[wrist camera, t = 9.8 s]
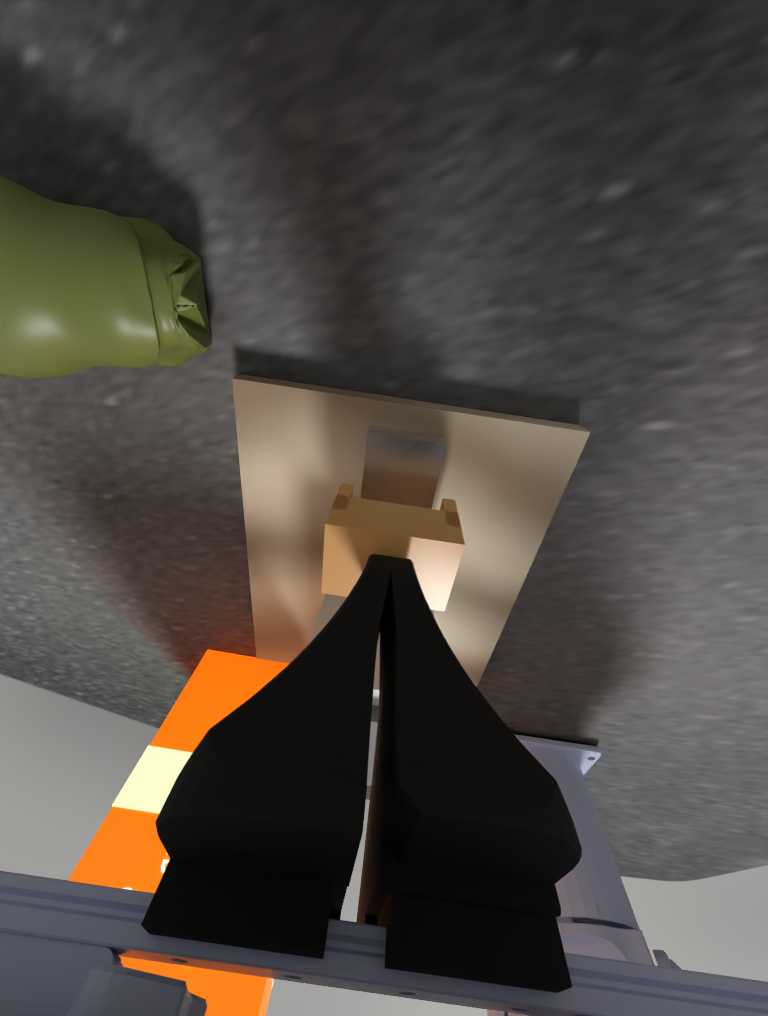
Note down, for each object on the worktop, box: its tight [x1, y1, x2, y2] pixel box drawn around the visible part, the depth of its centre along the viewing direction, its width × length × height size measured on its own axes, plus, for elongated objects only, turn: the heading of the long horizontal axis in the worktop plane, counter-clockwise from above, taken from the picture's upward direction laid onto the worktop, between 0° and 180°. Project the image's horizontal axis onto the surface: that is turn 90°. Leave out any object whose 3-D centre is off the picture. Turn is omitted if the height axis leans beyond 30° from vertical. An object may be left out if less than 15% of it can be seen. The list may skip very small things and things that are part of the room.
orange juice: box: [68, 649, 289, 1016], centre depth 17 cm, size 8×9×20 cm
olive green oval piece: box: [0, 176, 212, 378], centre depth 11 cm, size 6×5×10 cm
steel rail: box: [360, 425, 446, 509], centre depth 17 cm, size 15×3×1 cm, turn 172°
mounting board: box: [232, 374, 590, 687], centre depth 18 cm, size 17×14×1 cm
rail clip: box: [321, 483, 465, 612], centre depth 13 cm, size 3×4×3 cm, turn 82°
